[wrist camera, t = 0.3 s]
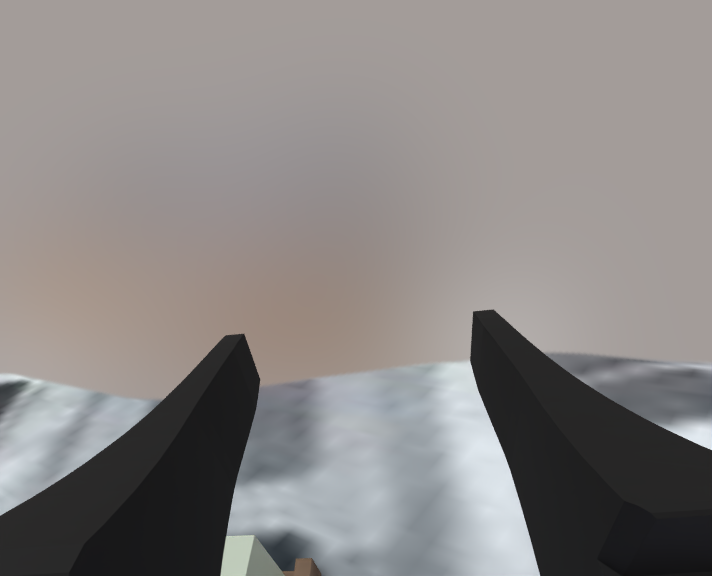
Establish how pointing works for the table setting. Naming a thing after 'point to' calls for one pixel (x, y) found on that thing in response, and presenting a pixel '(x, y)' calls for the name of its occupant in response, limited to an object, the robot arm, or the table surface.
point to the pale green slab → (247, 558)
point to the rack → (304, 568)
